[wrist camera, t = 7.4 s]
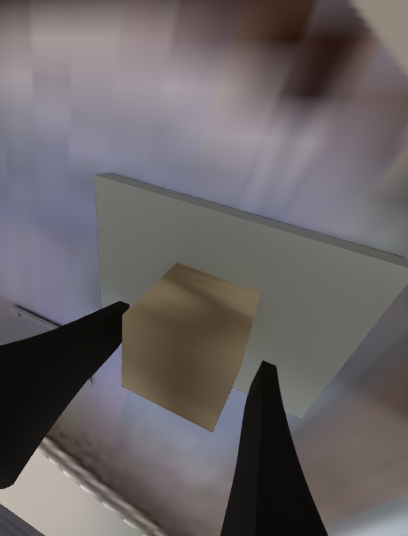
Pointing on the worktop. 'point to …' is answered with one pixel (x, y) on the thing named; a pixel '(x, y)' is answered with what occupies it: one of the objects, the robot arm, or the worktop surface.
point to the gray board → (251, 278)
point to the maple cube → (187, 342)
